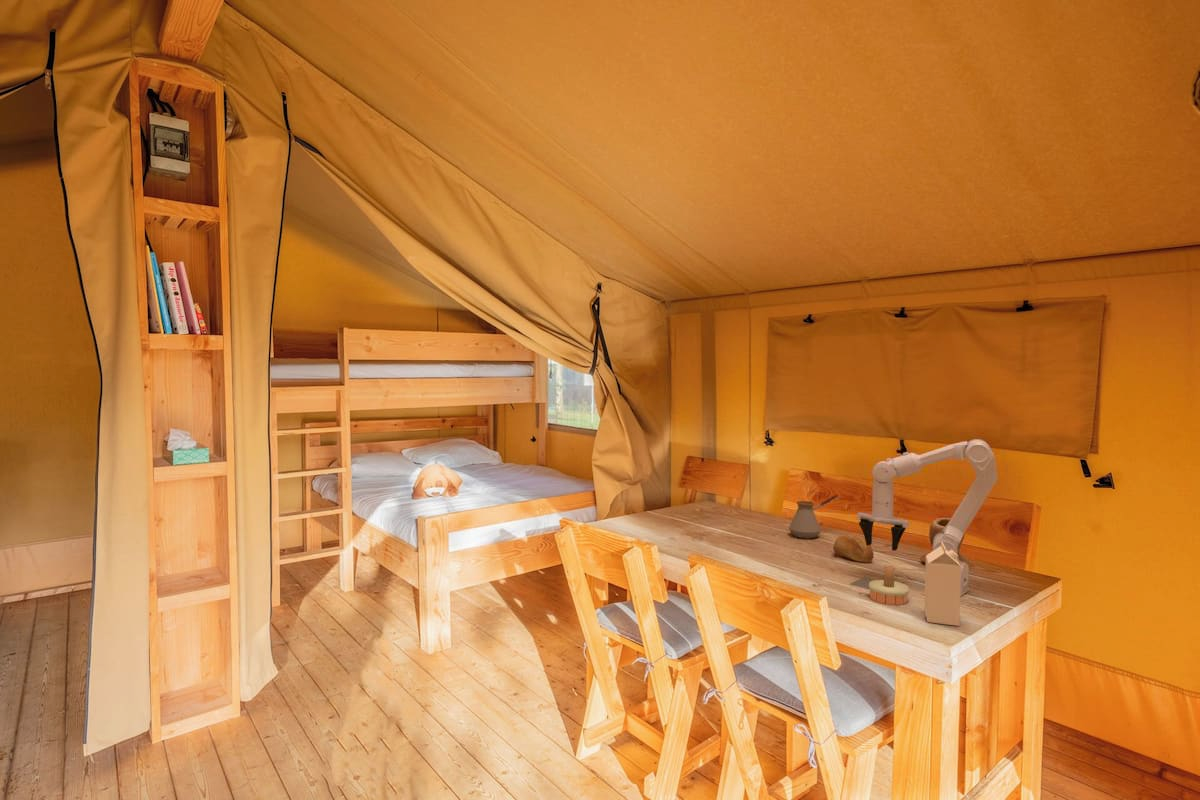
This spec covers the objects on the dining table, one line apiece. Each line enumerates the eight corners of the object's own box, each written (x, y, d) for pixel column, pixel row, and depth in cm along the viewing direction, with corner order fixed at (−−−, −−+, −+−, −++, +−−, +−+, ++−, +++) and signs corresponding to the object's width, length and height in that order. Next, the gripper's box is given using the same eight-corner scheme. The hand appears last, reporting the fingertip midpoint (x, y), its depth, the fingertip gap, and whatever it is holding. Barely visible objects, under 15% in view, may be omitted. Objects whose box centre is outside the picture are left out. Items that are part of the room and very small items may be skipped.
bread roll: (858, 567, 209) (858, 542, 209) (825, 554, 223) (825, 531, 223) (880, 563, 213) (881, 539, 213) (846, 551, 227) (847, 529, 227)
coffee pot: (801, 541, 240) (802, 500, 240) (782, 534, 251) (783, 495, 250) (848, 536, 248) (849, 497, 247) (828, 529, 258) (829, 491, 258)
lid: (913, 588, 179) (914, 567, 179) (902, 598, 172) (903, 575, 171) (875, 581, 186) (876, 560, 186) (863, 590, 178) (864, 568, 178)
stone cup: (944, 572, 204) (945, 525, 203) (914, 562, 215) (915, 516, 214) (980, 568, 209) (982, 521, 208) (949, 557, 220) (950, 513, 219)
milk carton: (927, 622, 163) (929, 547, 162) (924, 612, 170) (926, 540, 169) (959, 626, 161) (961, 550, 160) (955, 616, 167) (957, 542, 166)
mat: (898, 586, 191) (898, 584, 191) (883, 594, 184) (883, 592, 184) (864, 578, 198) (864, 576, 198) (849, 585, 191) (849, 584, 191)
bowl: (912, 600, 179) (912, 589, 178) (898, 609, 172) (898, 597, 172) (878, 592, 185) (878, 581, 185) (863, 600, 179) (864, 589, 179)
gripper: (852, 500, 197) (851, 545, 198) (902, 507, 187) (901, 554, 188) (863, 497, 202) (862, 540, 203) (912, 504, 192) (910, 550, 193)
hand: (881, 547), depth 196 cm, fingers open, 7 cm apart
